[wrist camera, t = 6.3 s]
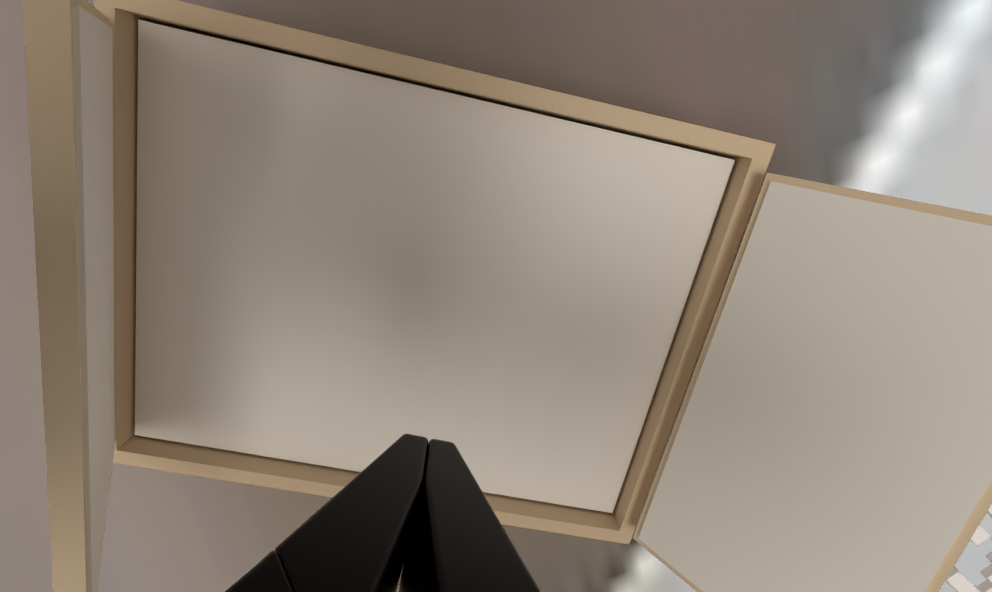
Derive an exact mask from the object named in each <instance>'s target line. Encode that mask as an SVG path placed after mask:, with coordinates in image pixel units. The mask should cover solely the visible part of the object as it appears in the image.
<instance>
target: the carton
mask: <svg viewBox="0 0 992 592" xmlns="http://www.w3.org/2000/svg"><path fill="white" fill-rule="evenodd" d="M94 7H95V8H96V9H98V10H99V11H100V12H101V13H103V14H104V15H105V16H106V17H108V18H109V26H110V27H111V28H113V201H114V396H115V449H114V458H113V463H118V464H124V465H131V466H137V467H143V468H150V469H156V470H162V471H168V472H175V473H181V474H187V475H194V476H200V477H206V478H213V479H219V480H225V481H232V482H238V483H244V484H251V485H257V486H263V487H270V488H276V489H282V490H289V491H295V492H301V493H308V494H314V495H320V496H327V497H334V496H335V495H336V494H337V493H338V492H339V491H340V490H342V489H343V488H344V487H345V486H346V485H347V484H348V483H349V482H351V481H352V480H353V479H354V478H355V477H356V476H357V475H358V474H360V473H361V472H362V471H363V470H364V469H365V468H366V467H367V466H369V465H370V464H371V463H372V462H373V461H374V460H375V459H376V458H378V457H379V456H380V455H381V454H382V453H383V452H384V451H385V450H387V449H388V448H389V447H390V446H391V445H392V444H393V443H394V442H396V441H397V440H398V439H399V438H400V437H401V436H402V435H404V434H412V435H417V436H422V437H426V438H427V439H428V443H429V441H430V440H431V439H438V440H443V441H448V442H452V443H454V444H455V445H456V447H457V449H458V450H459V452H460V454H461V456H462V457H463V459H464V461H465V463H466V464H467V466H468V468H469V469H470V471H471V473H472V475H473V476H474V478H475V480H476V481H477V483H478V485H479V487H480V488H481V490H482V492H483V494H484V495H485V497H486V499H487V500H488V502H489V504H490V506H491V507H492V509H493V511H494V513H495V514H496V516H497V518H498V519H499V521H500V523H501V524H504V525H510V526H516V527H523V528H529V529H535V530H542V531H548V532H554V533H561V534H567V535H573V536H580V537H586V538H592V539H598V540H605V541H611V542H617V543H624V544H629V543H630V540H631V538H632V535H633V532H634V530H635V527H636V524H637V521H638V519H639V516H640V513H641V510H642V508H643V505H644V502H645V500H646V497H647V494H648V491H649V489H650V486H651V483H652V480H653V478H654V475H655V472H656V470H657V467H658V464H659V461H660V459H661V456H662V453H663V450H664V448H665V445H666V442H667V440H668V437H669V434H670V431H671V429H672V426H673V423H674V420H675V418H676V415H677V412H678V410H679V407H680V404H681V401H682V399H683V396H684V393H685V390H686V388H687V385H688V382H689V380H690V377H691V374H692V371H693V369H694V366H695V363H696V360H697V358H698V355H699V352H700V350H701V347H702V344H703V341H704V339H705V336H706V333H707V331H708V328H709V325H710V322H711V320H712V317H713V314H714V311H715V309H716V306H717V303H718V301H719V298H720V295H721V292H722V290H723V287H724V284H725V281H726V279H727V276H728V273H729V271H730V268H731V265H732V262H733V260H734V257H735V254H736V251H737V249H738V246H739V243H740V241H741V238H742V235H743V232H744V230H745V227H746V224H747V221H748V219H749V216H750V213H751V211H752V208H753V205H754V202H755V200H756V197H757V194H758V191H759V189H760V186H761V183H762V181H763V178H764V175H765V172H766V170H767V167H768V164H769V161H770V159H771V156H772V153H773V151H774V148H775V145H776V144H773V143H769V142H764V141H760V140H756V139H752V138H748V137H744V136H739V135H735V134H731V133H727V132H723V131H719V130H714V129H710V128H706V127H702V126H698V125H694V124H690V123H685V122H681V121H677V120H673V119H669V118H665V117H660V116H656V115H652V114H648V113H644V112H640V111H635V110H631V109H627V108H623V107H619V106H615V105H611V104H606V103H602V102H598V101H594V100H590V99H586V98H581V97H577V96H573V95H569V94H565V93H561V92H556V91H552V90H548V89H544V88H540V87H536V86H531V85H527V84H523V83H519V82H515V81H511V80H507V79H502V78H498V77H494V76H490V75H486V74H482V73H477V72H473V71H469V70H465V69H461V68H457V67H452V66H448V65H444V64H440V63H436V62H432V61H428V60H423V59H419V58H415V57H411V56H407V55H403V54H398V53H394V52H390V51H386V50H382V49H378V48H373V47H369V46H365V45H361V44H357V43H353V42H349V41H344V40H340V39H336V38H332V37H328V36H324V35H319V34H315V33H311V32H307V31H303V30H299V29H294V28H290V27H286V26H282V25H278V24H274V23H270V22H265V21H261V20H257V19H253V18H249V17H245V16H240V15H236V14H232V13H228V12H224V11H220V10H215V9H211V8H207V7H203V6H199V5H195V4H191V3H186V2H182V1H178V0H94Z"/></svg>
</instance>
